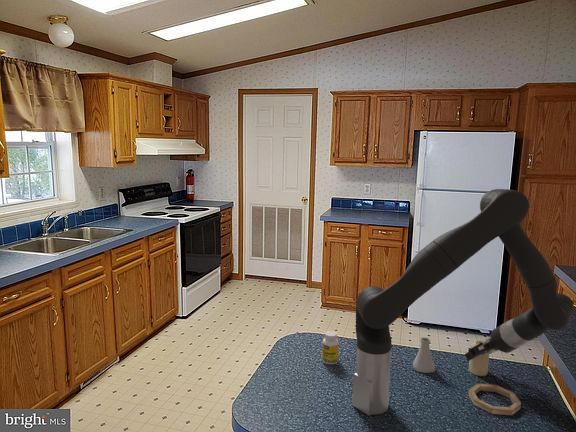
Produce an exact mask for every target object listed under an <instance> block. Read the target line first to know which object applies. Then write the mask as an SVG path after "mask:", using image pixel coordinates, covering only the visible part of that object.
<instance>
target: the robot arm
mask: <svg viewBox="0 0 576 432" xmlns="http://www.w3.org/2000/svg"><path fill="white" fill-rule="evenodd" d="M479 209H480V210H479V211H480V212H479V213H478V214H477V215H476V216H474V217H473V218H472V219H470V220H469V221H468V222H465V223H463V224H460V225H459V226H457V227H455V228H452V229H451V230H449V231H446V232H445V233H442V234H441V235H439V236H438V237H436V238H435V239H433V240H432V241H431V242H430V243H428V244H427V245H426V246H424V247H423V248H422V249H421V250H420V251H419V252H417V253H416V255H414V257H413V259H412V260H411V261H410V263H409V265H408V266H407V268H406V269H405V271H404V272H403V273H402V275H401V276H400V277H399V278H398V279H397V280H396V281H395V282H394V283H392V284H391V285H389V286H388V287H387V288H385V289H383V288H381V287H379V286H374V285H372V286H367V287H365V288H363V289H362V290H361V291H360V293H359V294H358V296H357V298H356V303H355V335H356V354H355V355H356V357H355V359H356V360H355V362H356V363H355V373H353V377H352V380H353V381H352V406H353V407H354V408H356V409H358V410H359V411H360V412H362V413H364V414H365V415H366V416H372V415H381V414H384V413H386V412H387V411H388V409H389V400H390V399H389V398H390V381H391V363H392V361H391V359H392V336H391V331H390V326H391V325H392V324H393V323H394V322H395V321H397V319H399V317H400V316H401V315H403V314H404V313H405V311H407V310H408V309H409V307H411V306H412V305H413V304H414V303H415V302H416V301H417V300H418V299H419V298H421V297H422V296H423V295H425V294H426V293H427V292H429V291H430V290H432V288H433V287H435V286H436V285H437V284H439V283H440V282H441V281H443V280H444V279H446V278H447V277H448V276H450V275H451V274H452V273H453V272H455V271H456V270H457V269H459V268H460V266H462V265H464V263H465V262H467V261H468V260H469V259H470V258H472V257H473V256H474V255H476V254H477V253H478V252H479V251H481V250H482V249H483V248H484V247H485V246H486V245H488V244H489V243H490V242H492V241H493V240H495V239H497V238H498V237H499V239H500V241H501V242H502V244H503V246H504V247H505V249H506V250H507V252H508V254H509V255H510V257H511V259H512V261H513V263H514V265H515V266H516V269H518V272H519V274H520V277H521V278H522V280H523V282H524V284H525V286H526V288H527V289H528V292H529V296H530V300H531V304H532V306H531V307H530V308H529V309H527V310H526V311H525V312H523V313H521V314H520V315H517V316H516V317H513V318H512V319H509V320H507V321H505V322H504V323H502V324H500V325H499V326H497V327H495V328H493V329H492V330H491V332H490V337H489V338H487V339H485V341H483V342H482V343H479V344H478V345H476V346H474V347H473V348H471V347H470V348H469V349H468V350H467V352H465V353H464V356H465V359H466V360H467V361H470V360H471V359H473V358H475V357H478V356H480V355H486V354H489V355H491V354H493V353H495V352H502V353H504V354H508V353H511V352H513V351H515V350H517V349H519V348H521V347H523V346H525V345H527V344H529V343H530V342H531V341H533V340H534V339H537V338H538V337H540V336H542V335H543V334H544V333H545V332H546V331H547V330H548V329H549V330H552V331H560V330H563V329H564V328H566V326H568V323H569V322H570V319H571V317H572V315H573V313H574V309H575V304H574V302H573V300H572V299H571V297H569V296H568V295H567V294H564V293H561V292H560V293H558V292H557V291H558V282H557V279H556V276H555V274H554V273H553V271H552V269H551V267H550V265H549V263H548V261H547V260H546V258H545V257H544V255H543V254H542V253H541V252H540V250H539V249H538V248H537V247H536V245H535V244H534V243H533V242H532V240H531V239H530V238H529V237H528V235H527V234H526V232H525V231H524V229H523V228H522V226H521V222H522V221H523V220H524V219H525V218H526V217H527V215H528V213H529V209H530V201H529V199H528V197H527V196H526V195H525V194H524V193H523V192H521V191H518V190H514V189H508V188H507V189H506V188H504V189H503V188H496V189H492V190H489V191H486V192H485V194H484V195H482V197H481V200H480V202H479ZM483 344H484V345H483ZM486 351H487V352H486Z"/></svg>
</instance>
